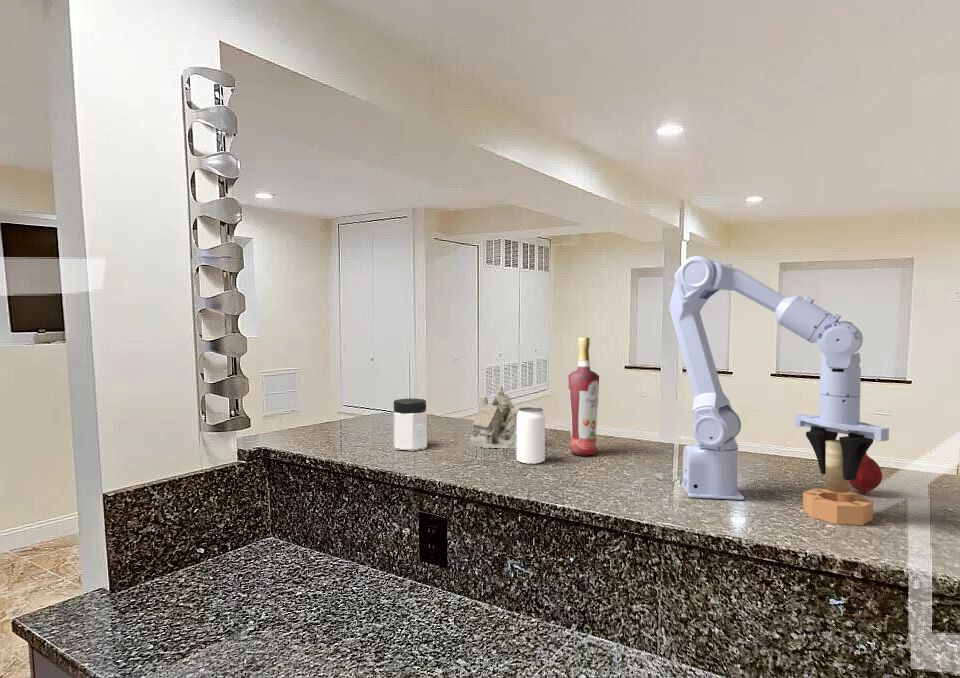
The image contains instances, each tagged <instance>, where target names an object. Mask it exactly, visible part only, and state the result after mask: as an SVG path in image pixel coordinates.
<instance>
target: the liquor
mask: <svg viewBox="0 0 960 678" xmlns="http://www.w3.org/2000/svg"><path fill="white" fill-rule="evenodd" d="M577 341H578V342H577V343H578V345H577V346H578V350H579V351H578V363H577V369H576V370H574V371H572V372H571V373H570V374H568V377H567V378H568V399H569V419H570V420H569V421H570V426H569V427H570V445H569V446H568V449H569V450H570V451H571V453H572V454H573V455H575V454H576V455H575V456H578V455H580V456H579V457H591V456H594V454H595V453H596V452H597V451H598V450H599V448H598V447H597V426H598V425H597V424H598V408H599V407H598V406H599V394H600V393H599V390H600V389H599V388H600V375H599V374H597V372H595V371H593V370H592V369H591V364H590V362H591V360H590V351H589V350H590V346H591V343H590V342H591V341H590V337H578V338H577ZM590 455H591V456H590Z"/></svg>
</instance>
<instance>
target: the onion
mask: <svg viewBox="0 0 960 678" xmlns="http://www.w3.org/2000/svg"><path fill="white" fill-rule="evenodd" d="M882 480H883V472H882V469H881V467H880V466H879V464H878V462H876V460H874V459H873V458H871V457H870V456H869V455H868V451H867V452H866V453H865V455H864V457H863V459H862V461H861V463H860V466H859V469H858V472H857V476H856V479H853V480H849V486H851V487H852V488H853V489H855V490H856V491H857V492H858V493H860V494H861V495H864V494H867V493H868V492H871V491H873V490H874V489H876V488H877V487H879V485H880V484H881V483H882Z"/></svg>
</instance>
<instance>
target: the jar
mask: <svg viewBox="0 0 960 678" xmlns="http://www.w3.org/2000/svg"><path fill="white" fill-rule="evenodd" d="M427 415H428V414H427V400H426V399H423V398H400V399H394V400H393V421H392V422H393V447H394V446H395V448H400V449H417V448H422V447H427V448H428V425H427V424H428V420H427V419H428V417H427ZM395 448H394V449H395Z"/></svg>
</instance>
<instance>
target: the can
mask: <svg viewBox="0 0 960 678" xmlns="http://www.w3.org/2000/svg"><path fill="white" fill-rule="evenodd" d="M518 409H519V412H518V414H517V449H516V461H517V462H518V461H519V462H522V463H541V462H543V461H544V462H545V461H546V456H545V455H546V416H545V413H544V409H543V408H541V407H534V406H529V407H528V406H527V407H519V408H518ZM519 462H518V463H519ZM544 462H543V463H544ZM522 463H521V464H522ZM541 464H542V463H541Z"/></svg>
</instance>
